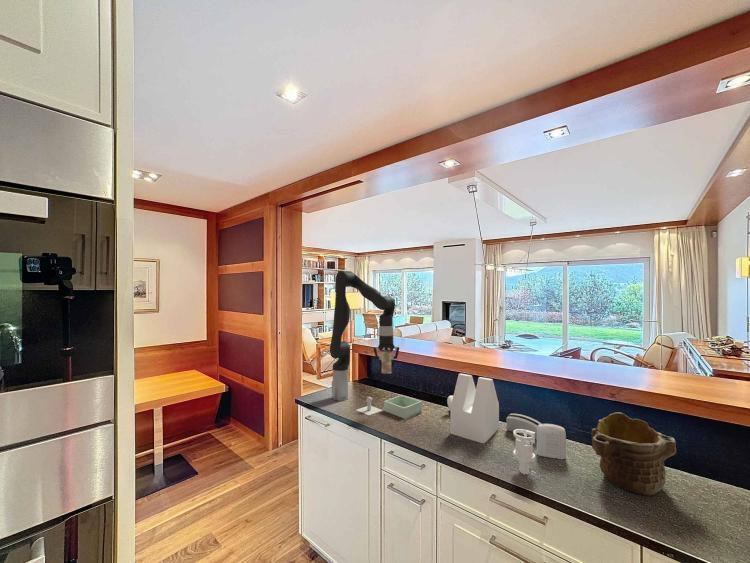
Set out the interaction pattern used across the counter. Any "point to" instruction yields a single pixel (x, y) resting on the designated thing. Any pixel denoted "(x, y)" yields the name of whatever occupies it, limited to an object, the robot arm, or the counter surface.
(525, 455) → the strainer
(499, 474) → the counter surface
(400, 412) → the bin
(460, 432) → the white notched block
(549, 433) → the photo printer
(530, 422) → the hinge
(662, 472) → the ceramic vessel
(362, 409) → the stud base
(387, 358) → the strut
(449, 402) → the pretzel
